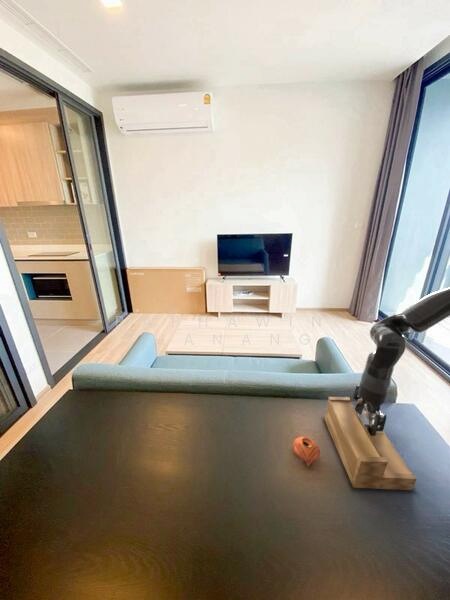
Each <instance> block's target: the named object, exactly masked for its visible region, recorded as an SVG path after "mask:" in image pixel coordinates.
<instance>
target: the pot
mask: <svg viewBox="0 0 450 600" xmlns="http://www.w3.org/2000/svg"><path fill="white" fill-rule="evenodd" d="M292 449H293V452H294V453H295V455H296V456H297V457H298V458H299V459H300V460H302V461H303V462H305V463H306V466H307V467H309V466H311V464H312V462H315V461H318V459H319V458H320V455H321V450H320V447H319V446H318V444H317V443H316V442H315V441H314V440H312V438H310V437H307V436H299V437H296V438H295V440H294V441H293V443H292Z"/></svg>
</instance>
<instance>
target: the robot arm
mask: <svg viewBox="0 0 450 600" xmlns="http://www.w3.org/2000/svg"><path fill="white" fill-rule="evenodd" d="M449 317H450V287H448V288H444V289H441V290H438V291H435V292H432V293H430V294H428V295H426V296H424V297H422V298H421V299H419V300H418V301H416V302H414V303H413V304H411V305H410V306H408V307H407V308H406V309H405V310H403V311H401V312H398V313H394V314H392V315H390V316H387V317H385V318H383V319H381V320H379V321H377V322H376V323H374V324H373V325H372V327H371V328H370V331H369V336H370V339H371V340H372V342H373V343H374V344H375V346H376V348H375V351H372V352H370V353H369V354H368V356H367V358H366V362H365V366H364V369H363V372H362V374H361V378H360V382H359V384H358V385H356V386H355V389H354V392H353V400H355V402H354V404H355V407H354V409H355V410H356V412H357V414H362V411H366V416H367V419H369V427H368V432H369V434H370V435H371V436H375V435H376V431H383V430H384V429H385V426H386V421H387V414H386V413H382V412H381V406H382V405H383V404H384V403H386V400H387V397H388V393H389V390H390V386H391V381H392V376H393V373H394V369H395V366H396V365H397V363H398V362H399V361H400V360H401V358H402V356H404V353H405V351H406V350H407V349H406V348H407V340H406V338H405V336H404V335H403V334H405V333H408V332H414V333H416V334H421V333H424V332H425V331H428V330H429V329H431V328H433V327H434V326H436V325H437V324H440V323H441V322H442V321H444V320H445V319H447V318H449ZM370 414H373V416H374V417H373V416H370ZM372 420H374V424H373V423H372ZM384 431H385V430H384Z"/></svg>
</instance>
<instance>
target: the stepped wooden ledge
mask: <svg viewBox="0 0 450 600" xmlns="http://www.w3.org/2000/svg"><path fill="white" fill-rule="evenodd" d="M350 398H351V397H349V396H328V399H327V403H326V409H325V415H324V419H323V420H324V421H325V425H326V426H327V429H328V431H329V434H330V436H331V438H332V441H333V444H334V446H335V448H336V450H337V452H338V453H337V454H338V455H339V457H340V460H341V462H342V464H343V467H344V470H345V471H346V474H347V476H348V479H349V481H350V483H351V486H352V488H355V489H356V488H357V489H375V490H376V489H379V490H400V491H401V490H402V491H403V490H404V491H412V490H413V488H414V487H415V484H416V482H417V477H416V476H415V473H412V472H411V471H410V469H409V467H408V466H407V464H406V463H405V461H404V460H403V458H402V456H401V455H400V454H399V453H398V451H397V449H396V448H395V446H394V445H393V444H392V442H391V441H390V439H389V437H388V436H387V435H386V433H385V431H384V432H383V433H376V435H375V436H371V435H370V434H369V432H368V430H367V429H366V427H365V425H364V424H363V422H362V420H361V419H360V417H359V415H358V414H357V412H356V410H355V407H354V405H353V403H352V402H351V399H350ZM362 414H366V411H365V410H363V411H362ZM370 416H373V417H374V416H375V415H374V414H370Z"/></svg>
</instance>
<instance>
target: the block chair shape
mask: <svg viewBox="0 0 450 600" xmlns="http://www.w3.org/2000/svg"><path fill="white" fill-rule="evenodd" d="M358 415H359V417H360V419H361V420H362V422H363V424H364V425H365V427H366V429H367V430H368V427H369V419H367V416H366V414H358ZM372 423H373V424H374V420H372ZM383 432H384V433H385V430H383V431H376V433H383Z"/></svg>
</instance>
